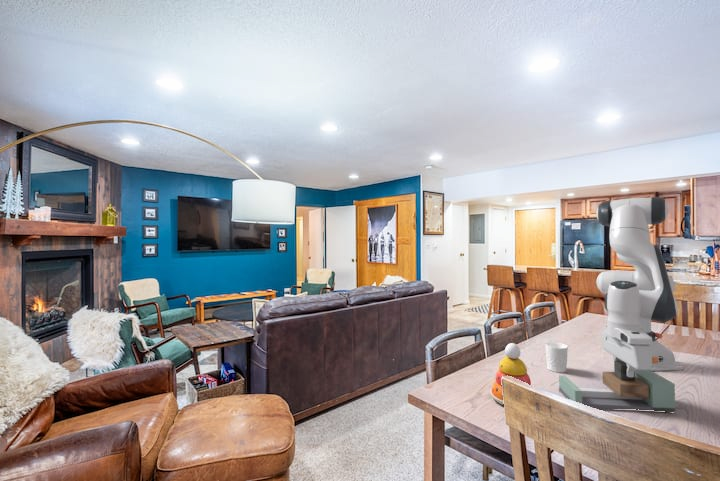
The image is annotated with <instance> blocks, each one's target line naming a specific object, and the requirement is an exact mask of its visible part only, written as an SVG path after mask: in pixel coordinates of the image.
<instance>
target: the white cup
mask: <svg viewBox="0 0 720 481" xmlns="http://www.w3.org/2000/svg"><path fill="white" fill-rule="evenodd" d="M544 345H545V359H546V360H545V361H546V367H547V369H548V370H549V371H551V372H553V373H560V374H561V373H566V372H567V365H568V349H569V348H568V347H569V346H568V345H567V344H565V343H561V342H554V341H553V342H552V341H551V342H545V344H544Z"/></svg>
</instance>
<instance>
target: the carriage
mask: <svg viewBox="0 0 720 481" xmlns="http://www.w3.org/2000/svg"><path fill="white" fill-rule="evenodd" d="M613 363H614V364H613V365H614V367H613V368H614V370H613V371H602V384H603V385H605V386H606V387H607V389H611V390H612V391H614V392H615V393H616V394H617V395H619V396H620V397H634V398H649V385H647V384H646V383H644V382H642V381H641V380H639V379H638V378H636V377H635V371H634V377H628V376H626V375H625V370H627V365H626V363H625V362H623V361H614V360H613Z"/></svg>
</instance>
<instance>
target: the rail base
mask: <svg viewBox="0 0 720 481" xmlns="http://www.w3.org/2000/svg"><path fill="white" fill-rule="evenodd" d="M635 377H636V378H638V379H639V380H641V381H642V382H644V383H646V384H647V385H649V398H634V397H620V396H619V395H617V394H616V393H615V392H614V391H612V390H611V389H610V388H600V387H599V388H597V387H578V385H576V384H575V383H574V382H572V381H571V379H569V378H568V376H566V375H563V374H561V375H558V390H559V391H558V392H560V393H561V394H562V395H563V396H564V397H565V399H567V398H568V399H571V400H573V401H576V402H579V403H582V404H584V405H587V406H590V407H593V408H597V409H596V410H604V411H605V410H606V411H607V410H608V409H609V410H611V411H613V410H612V409H636V410H638V409H639V410H654V411H665V412H674V413H673V414H676V394H675V393H676V392H675V391H676V390H675V388H676V385H675V383H673V382H672V381H670V380H668V379H666V377H664V376H661V375H660V374H658V373H656V372H654V371H651V370H648V371H647V370H637V369H636V370H635ZM609 410H608V411H609Z"/></svg>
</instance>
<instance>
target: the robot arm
mask: <svg viewBox="0 0 720 481" xmlns="http://www.w3.org/2000/svg"><path fill="white" fill-rule="evenodd" d="M669 212H670V209H669V205H668V204H667V201H666V200H665V199H664V198H663V197H660V196H651V197H642V196H641V197H630V198H622V199H614V200H609V199H608V200H606V201H602V202H601V203H599V204H598V207H597V209H596V214H595V216H596V219H597V221H598V222H599V224H600V225H602V226H605V227H609V236H608V237H609V246H610V248H611V249H612V251H614V252H615V254H616V257H617V259H618V260H619V261H621V262H623V263H625V264H627V265H631V267H633V268H634V269H635V270H618V269H617V270H615V269H614V270H606V271H601V272H600V273H599V274H598V276H597V278H596V282H595V284H596V287H597V289H598V290H599V291H600V292H601V293H602V294H604V309H605V310H606V311H607V312H608V315H607V319H606V326H605V327H604V330H603V332H602V337H601V338H602V339H601V346H602V350H604V351H605V352H607V353H608V354H610V355H612V359H613V362H614V361H623V362H625V363H626V365H627V370H625V375H626V376H628V377H634V371H635V370H636V369H637V370H647V371H648V370H651V371H653V372H654V371H655V372H656V371H659V372H660V371H682V370H684V366H683V365H682V364H681V363H679V362H677V361H676V358H675V354H674V352H673V351H672V350H671V349H670V348H668V347H666V346H665V345H663V343H661V342H660V341H659V340H660V339H663V337H664V336H663V334H662V333H660V332H654V331H653V330H652V321H654V322H660V323H667V322H670V321H671V320H673V319H675V318H676V317H677V315H678V312H679V306H678V302H677V299H676V298H675V295H674V292H675V290H676V283H675V280H674V279H673V277H671V276H670V274H668V270H667V266H666V262H665V260H664V256H663V253H662V250H661V249H660V247H659V246H658V245H654V244H653V243H652V241H651V233H650V232H651V231H650V226H649V225H651V226H652V227H654V226H655V225H659V224H661V223H663V222H665V221H666V219H667V217H668V215H669ZM657 339H659V340H657ZM652 356H655V357H658V358H659V363H653V368H651V367H652Z"/></svg>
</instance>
